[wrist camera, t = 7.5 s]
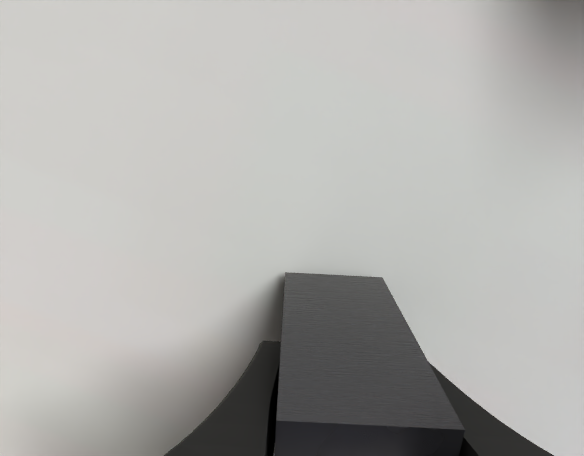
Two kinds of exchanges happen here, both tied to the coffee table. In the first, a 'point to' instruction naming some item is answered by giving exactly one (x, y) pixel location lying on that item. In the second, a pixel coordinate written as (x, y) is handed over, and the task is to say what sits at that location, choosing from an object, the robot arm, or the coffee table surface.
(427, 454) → the dark grey mallet
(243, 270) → the coffee table surface
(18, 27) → the coffee table surface
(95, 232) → the coffee table surface
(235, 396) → the robot arm
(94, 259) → the coffee table surface
